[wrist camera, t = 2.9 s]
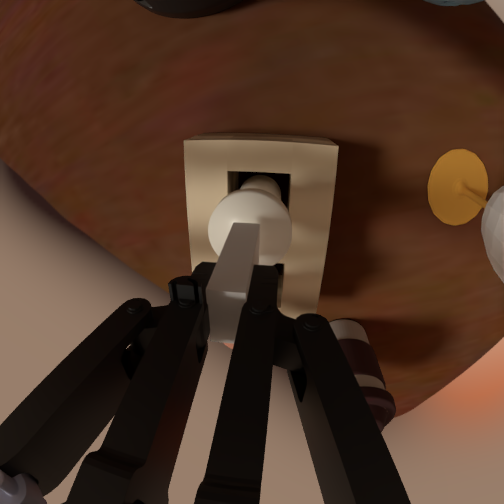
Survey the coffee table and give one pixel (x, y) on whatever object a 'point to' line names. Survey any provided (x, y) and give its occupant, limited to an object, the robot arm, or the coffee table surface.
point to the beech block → (299, 204)
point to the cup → (468, 200)
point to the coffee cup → (365, 369)
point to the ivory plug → (254, 218)
